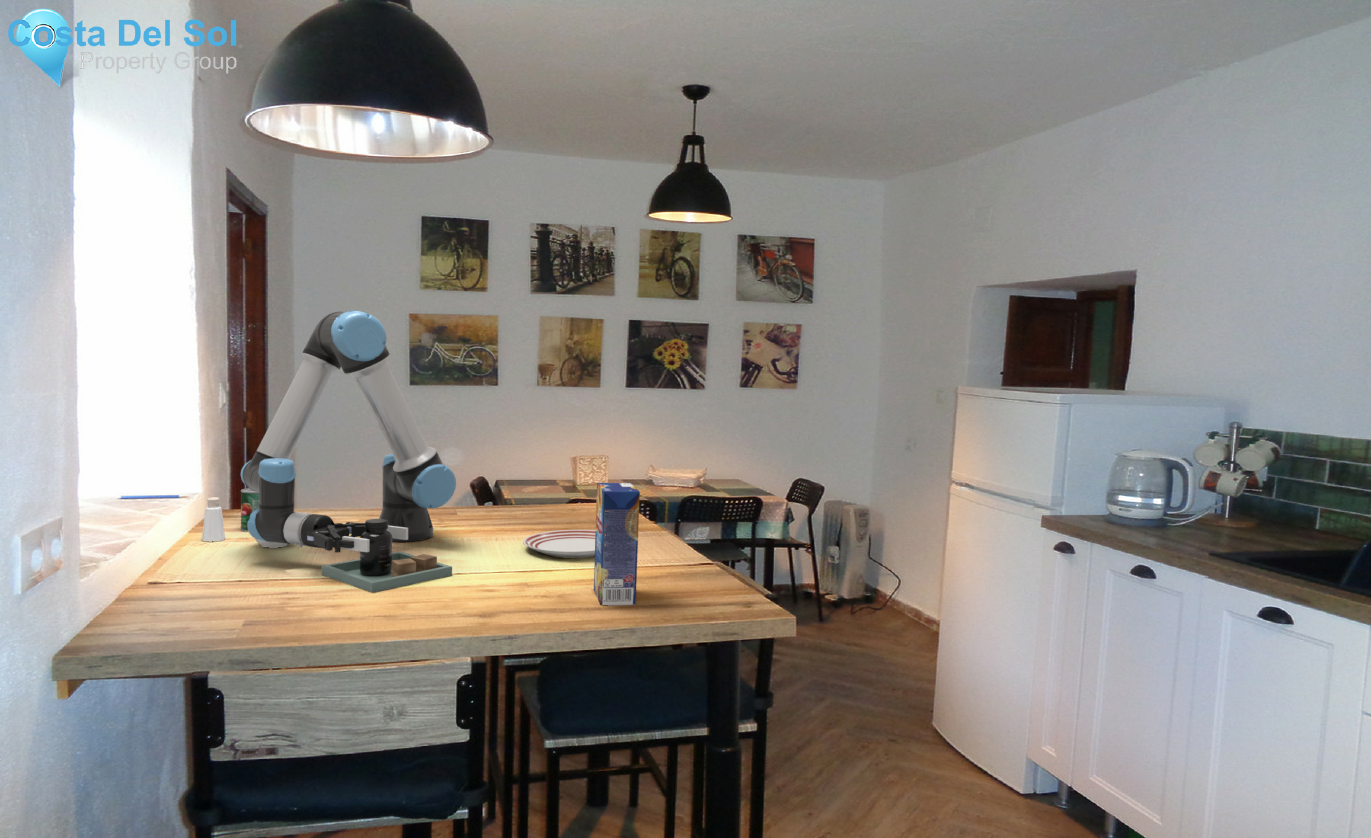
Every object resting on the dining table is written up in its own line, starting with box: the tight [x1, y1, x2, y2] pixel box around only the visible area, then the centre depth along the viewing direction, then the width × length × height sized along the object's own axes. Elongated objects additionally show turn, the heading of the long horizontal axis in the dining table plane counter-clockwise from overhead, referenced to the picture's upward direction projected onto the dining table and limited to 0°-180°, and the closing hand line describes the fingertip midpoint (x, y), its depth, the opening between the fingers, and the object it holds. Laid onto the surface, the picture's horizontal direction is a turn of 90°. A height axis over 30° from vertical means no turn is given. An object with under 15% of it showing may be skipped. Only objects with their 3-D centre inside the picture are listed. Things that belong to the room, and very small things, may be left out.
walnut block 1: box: [392, 558, 416, 577], centre depth 189 cm, size 4×4×4 cm
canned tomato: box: [240, 487, 259, 532], centre depth 237 cm, size 8×8×11 cm
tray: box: [320, 550, 453, 594], centre depth 192 cm, size 20×20×3 cm
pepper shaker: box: [201, 496, 226, 543], centre depth 222 cm, size 5×5×11 cm
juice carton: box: [593, 482, 641, 606], centre depth 184 cm, size 12×8×24 cm, turn 13°
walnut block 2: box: [411, 553, 438, 572], centre depth 193 cm, size 4×4×4 cm
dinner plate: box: [522, 529, 596, 559], centre depth 227 cm, size 27×27×3 cm
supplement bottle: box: [359, 518, 393, 576], centre depth 193 cm, size 7×7×12 cm
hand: (388, 539), depth 191 cm, fingers open, 13 cm apart
